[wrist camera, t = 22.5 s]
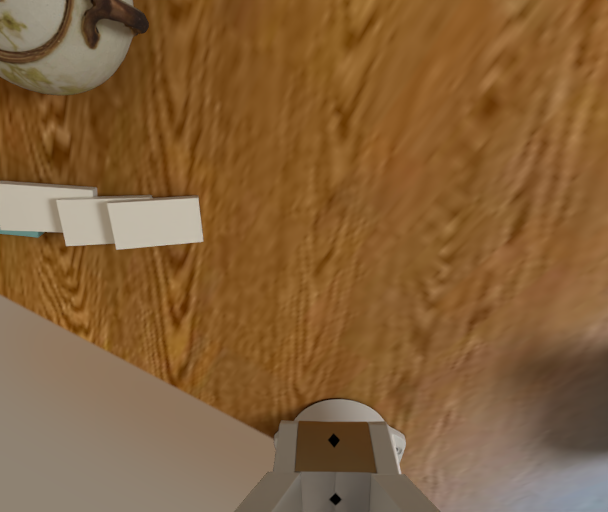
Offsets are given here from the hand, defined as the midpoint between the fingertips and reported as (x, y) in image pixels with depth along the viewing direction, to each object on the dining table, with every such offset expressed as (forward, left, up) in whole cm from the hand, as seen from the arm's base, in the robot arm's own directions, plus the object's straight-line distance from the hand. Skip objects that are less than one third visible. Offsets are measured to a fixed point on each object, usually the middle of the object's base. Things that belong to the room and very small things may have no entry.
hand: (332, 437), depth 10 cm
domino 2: (0, +19, -30) cm, 36 cm away
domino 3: (0, +14, -30) cm, 33 cm away
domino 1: (+1, +26, -30) cm, 40 cm away
